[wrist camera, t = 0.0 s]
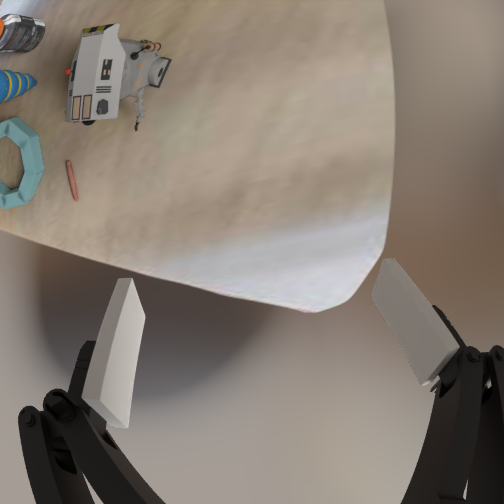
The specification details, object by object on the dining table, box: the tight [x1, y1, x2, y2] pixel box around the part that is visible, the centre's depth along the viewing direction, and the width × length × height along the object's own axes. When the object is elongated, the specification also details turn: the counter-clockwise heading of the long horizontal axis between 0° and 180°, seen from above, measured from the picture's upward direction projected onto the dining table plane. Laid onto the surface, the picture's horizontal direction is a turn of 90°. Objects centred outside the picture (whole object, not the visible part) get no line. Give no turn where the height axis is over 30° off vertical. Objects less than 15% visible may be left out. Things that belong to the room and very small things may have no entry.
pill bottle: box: [0, 14, 45, 52], centre depth 15 cm, size 6×6×11 cm
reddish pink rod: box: [66, 161, 79, 201], centre depth 34 cm, size 7×1×1 cm, turn 0°
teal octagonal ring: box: [0, 117, 44, 209], centre depth 29 cm, size 15×15×2 cm
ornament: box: [0, 70, 37, 103], centre depth 18 cm, size 5×5×15 cm
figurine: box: [65, 24, 171, 131], centre depth 22 cm, size 9×12×15 cm
